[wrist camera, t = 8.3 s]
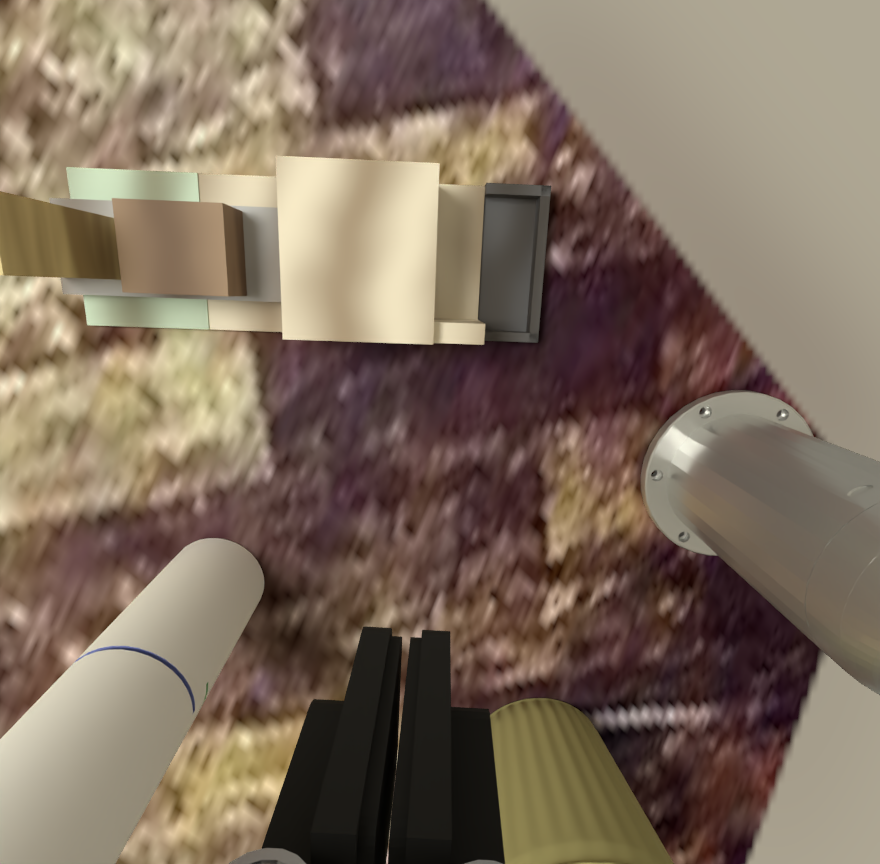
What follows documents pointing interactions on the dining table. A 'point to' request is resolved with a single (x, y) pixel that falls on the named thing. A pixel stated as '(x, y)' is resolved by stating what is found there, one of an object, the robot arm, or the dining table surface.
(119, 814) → the cylindrical container
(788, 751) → the dining table surface
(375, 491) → the dining table surface
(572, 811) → the potted cactus
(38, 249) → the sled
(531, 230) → the tunnel
